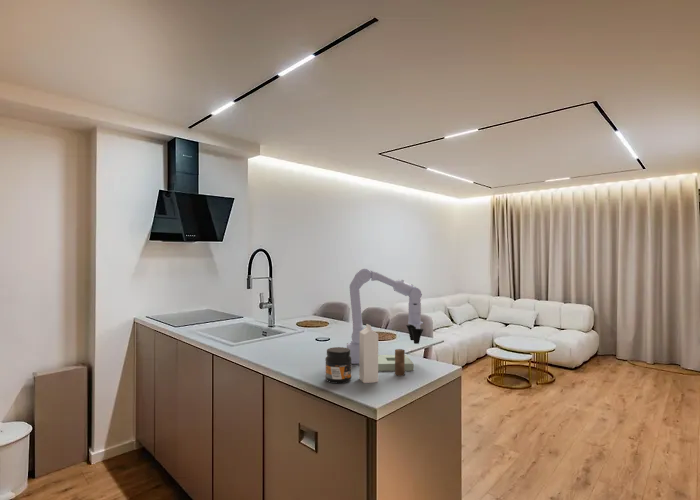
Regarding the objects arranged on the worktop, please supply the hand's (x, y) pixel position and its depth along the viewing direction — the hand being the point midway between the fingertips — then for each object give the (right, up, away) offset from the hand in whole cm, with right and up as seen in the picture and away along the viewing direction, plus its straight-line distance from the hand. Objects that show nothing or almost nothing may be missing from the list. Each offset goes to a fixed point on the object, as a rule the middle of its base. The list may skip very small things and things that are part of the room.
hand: (414, 341), depth 174 cm
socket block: (-11, -10, -5) cm, 15 cm away
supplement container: (-35, -9, -26) cm, 45 cm away
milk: (-23, -9, -27) cm, 36 cm away
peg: (-9, -9, -18) cm, 22 cm away
